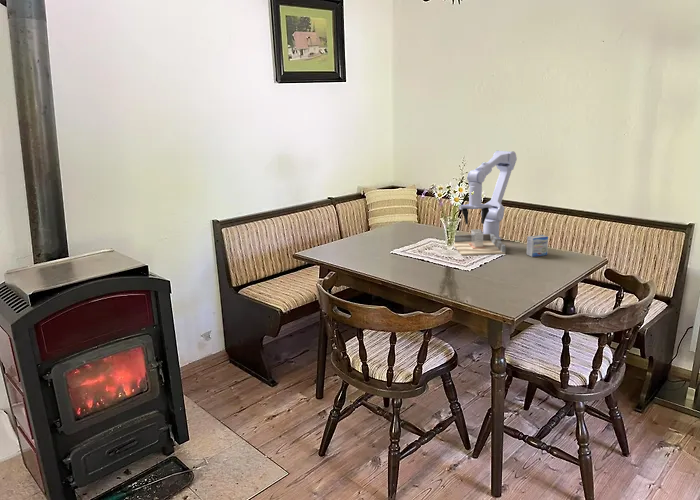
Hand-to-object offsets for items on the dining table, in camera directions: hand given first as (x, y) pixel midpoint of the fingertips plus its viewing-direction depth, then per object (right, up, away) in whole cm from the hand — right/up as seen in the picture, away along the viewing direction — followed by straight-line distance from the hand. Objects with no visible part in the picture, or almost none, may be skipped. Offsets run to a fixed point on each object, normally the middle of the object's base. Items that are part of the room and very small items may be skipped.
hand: (474, 223), depth 259 cm
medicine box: (+24, -15, -17) cm, 33 cm away
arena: (+1, -12, -3) cm, 12 cm away
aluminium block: (+1, -10, -2) cm, 11 cm away
